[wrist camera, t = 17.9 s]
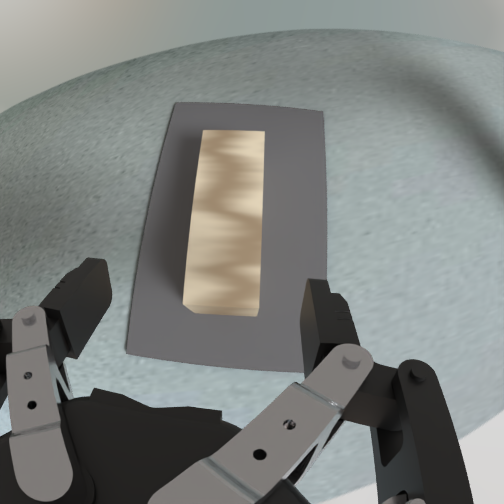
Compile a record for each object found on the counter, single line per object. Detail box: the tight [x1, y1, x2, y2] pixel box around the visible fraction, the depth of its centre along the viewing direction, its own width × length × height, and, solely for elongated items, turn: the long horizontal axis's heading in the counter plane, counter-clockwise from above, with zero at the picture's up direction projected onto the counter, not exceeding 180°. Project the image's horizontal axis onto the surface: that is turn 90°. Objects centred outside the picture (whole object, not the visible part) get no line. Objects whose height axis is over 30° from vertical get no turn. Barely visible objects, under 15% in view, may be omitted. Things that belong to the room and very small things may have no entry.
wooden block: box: [183, 130, 265, 316], centre depth 25 cm, size 5×5×14 cm
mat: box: [126, 102, 327, 373], centre depth 29 cm, size 16×26×1 cm, turn 176°
